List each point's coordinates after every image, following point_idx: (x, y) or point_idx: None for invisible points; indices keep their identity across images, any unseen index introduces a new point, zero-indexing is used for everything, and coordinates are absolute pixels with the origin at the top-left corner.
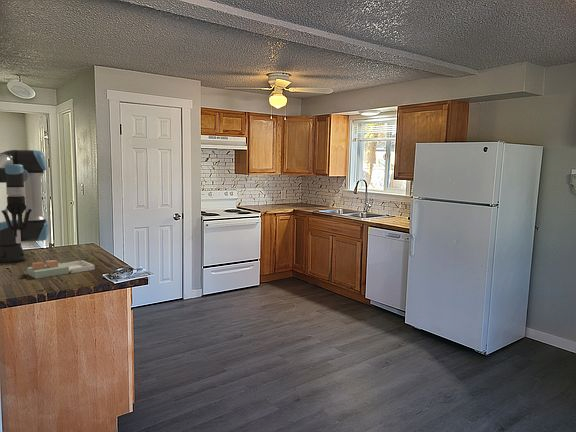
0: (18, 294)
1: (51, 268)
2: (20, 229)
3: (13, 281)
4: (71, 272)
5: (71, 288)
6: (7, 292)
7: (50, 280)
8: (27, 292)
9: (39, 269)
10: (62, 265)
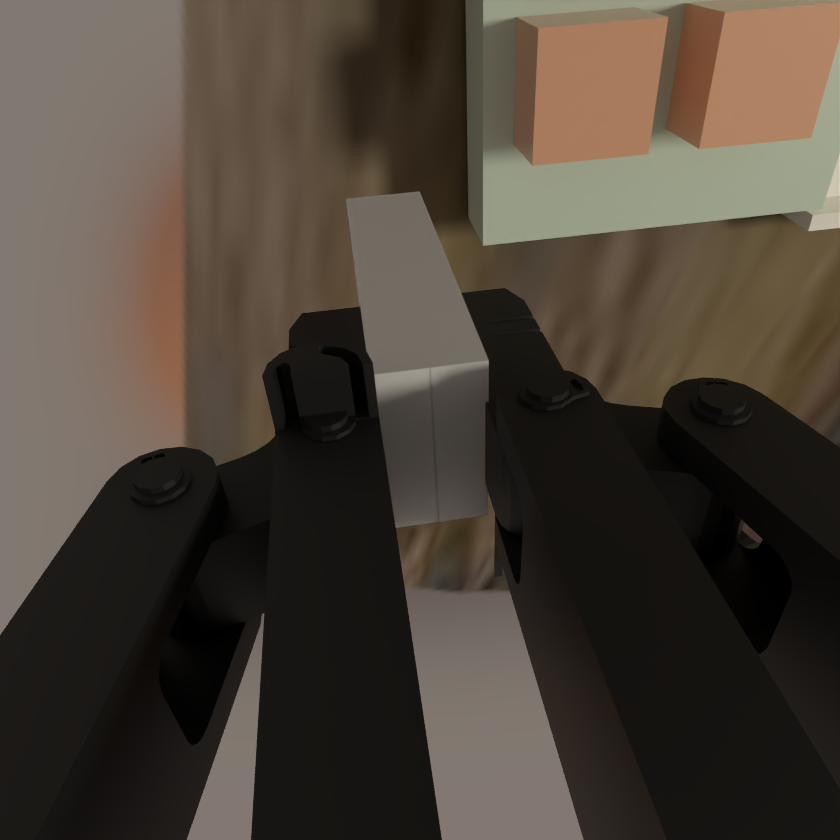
0: None
1: (669, 174)
2: (496, 538)
3: (269, 166)
4: (790, 215)
5: None
6: None
7: (545, 328)
8: None
9: None
10: (832, 88)
